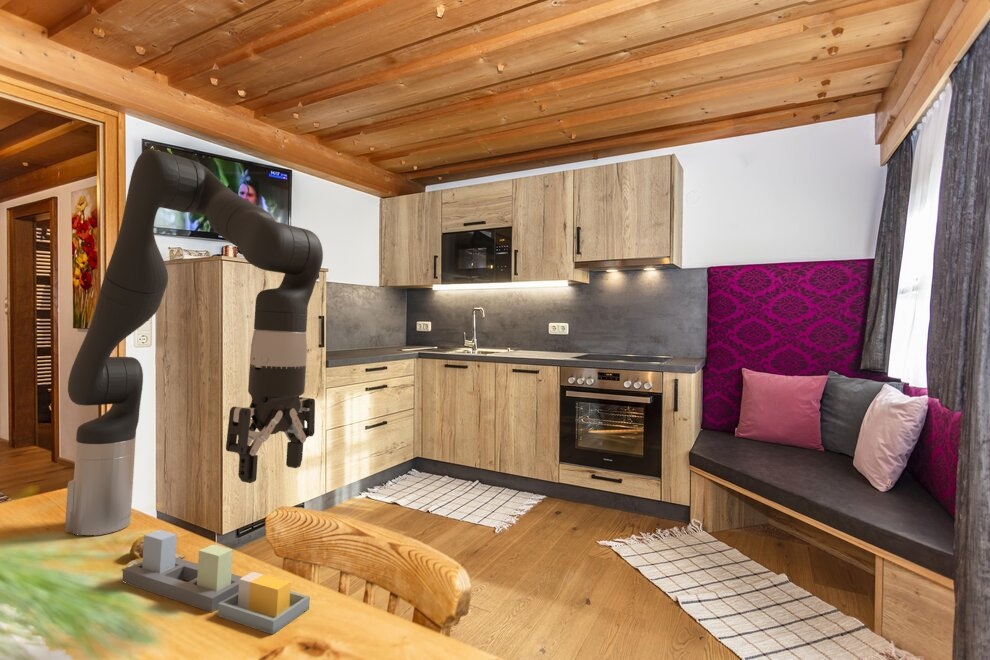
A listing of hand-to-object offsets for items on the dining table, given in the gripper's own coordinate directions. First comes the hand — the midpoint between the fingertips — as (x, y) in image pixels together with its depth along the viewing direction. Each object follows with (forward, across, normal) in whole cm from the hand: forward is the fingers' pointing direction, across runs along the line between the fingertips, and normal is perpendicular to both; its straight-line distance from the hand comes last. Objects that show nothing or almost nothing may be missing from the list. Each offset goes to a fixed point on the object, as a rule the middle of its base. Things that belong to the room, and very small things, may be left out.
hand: (271, 474), depth 73 cm
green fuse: (+20, 0, -10) cm, 22 cm away
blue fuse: (+20, 0, -22) cm, 30 cm away
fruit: (+20, -4, -29) cm, 36 cm away
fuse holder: (+20, 0, -16) cm, 25 cm away
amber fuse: (+17, 0, -4) cm, 18 cm away
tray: (+20, 0, 0) cm, 20 cm away
